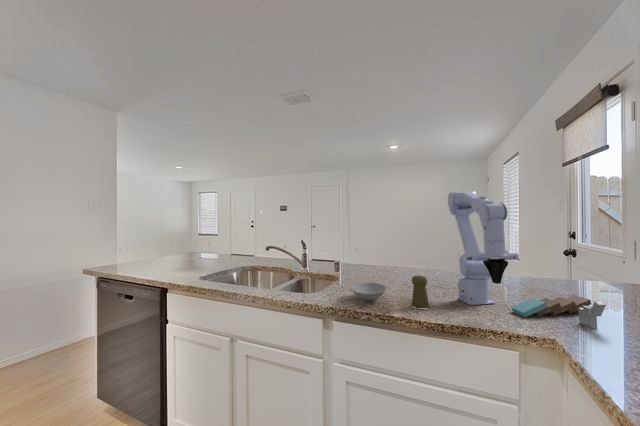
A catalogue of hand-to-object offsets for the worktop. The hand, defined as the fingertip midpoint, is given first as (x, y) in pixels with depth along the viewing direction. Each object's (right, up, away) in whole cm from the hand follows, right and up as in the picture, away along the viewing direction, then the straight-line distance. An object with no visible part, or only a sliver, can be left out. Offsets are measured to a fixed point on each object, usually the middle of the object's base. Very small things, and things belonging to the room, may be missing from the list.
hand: (496, 282), depth 87 cm
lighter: (+19, -10, -11) cm, 25 cm away
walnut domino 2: (+16, -9, 0) cm, 19 cm away
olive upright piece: (-21, -12, +11) cm, 26 cm away
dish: (-37, -12, +20) cm, 44 cm away
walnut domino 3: (+22, -9, +1) cm, 24 cm away
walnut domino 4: (+24, -9, +1) cm, 26 cm away
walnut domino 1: (+11, -9, 0) cm, 15 cm away
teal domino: (+7, -9, 0) cm, 12 cm away
